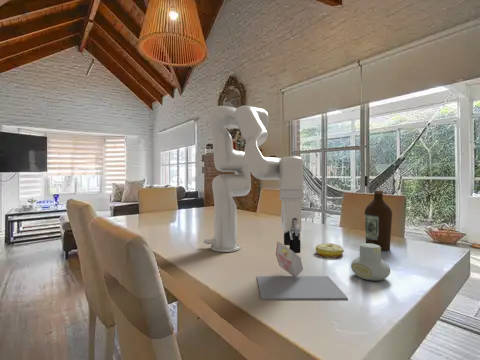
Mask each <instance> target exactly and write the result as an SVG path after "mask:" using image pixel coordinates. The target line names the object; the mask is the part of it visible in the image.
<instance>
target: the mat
mask: <svg viewBox="0 0 480 360" xmlns="http://www.w3.org/2000/svg"><path fill="white" fill-rule="evenodd" d="M256 280H257V285H258V290H259V295H260V300H263V301H264V300H265V301H268V300H269V301H270V300H271V301H272V300H275V301H276V300H286V301H287V300H296V301H297V300H298V301H299V300H301V301H302V300H308V301H309V300H315V301H316V300H318V301H319V300H327V301H329V300H332V301H333V300H337V301H340V300H348V299H349V297H348V296H347V295H346V294H345V293H344V292H343V291H342V290H341V289H340V288H339V286H337V284H336V283H335V282H334V281H333V280H332V279H331V278H330V276H329V275H297V276H296V277H294V276H292V275H257V276H256Z"/></svg>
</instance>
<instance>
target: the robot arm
mask: <svg viewBox="0 0 480 360" xmlns="http://www.w3.org/2000/svg"><path fill="white" fill-rule="evenodd" d="M269 122H270V117H269V113H268V111H266V110H265V109H264V108H262V107H256V106H252V105H240V106H238V107H233V106H227V105H218V106H214V108H212V110H211V112H210V114H209V121H208V123H209V130H210V133H211V138H212V148H213V163H214V164H213V165H214V167H215V169H216V170H217V171H219V172H228V173H229V172H233V173H234V174H231V173H230V174H228V173H227V174H219V175H217V176H215V177H214V178H213V179H212V184H211V188H212V195H213V203H214V208H213V209H214V213H213V214H214V220H213V221H214V224H213V225H214V230H213V231H214V233H213V234H214V236H213V237H211V238H204V239H203V244H206V245H210V250H211V251H214V252H218V253H231V252H236V251H239V250H240V249H241V245H240V244H239V243H237V237H238V234H237V233H238V232H237V231H238V230H237V228H238V227H237V226H238V221H237V220H238V219H237V215H238V210H237V208H238V207H237V204H236V202H235V200H234V197H243V196H247V195H249V193H250V191H251V189H252V178H251V174H252V176H253V177H254V178H255V179H257V180H263V181H265V180H268V181H269V180H273V181H276V180H277V181H279V185H278V186H279V201H281V206H280V207H281V209H280V210H281V211H280V212H281V213H280V228H281V229H282V230H283V245H284V246H289V249H290V250H292V251H293V252H295V254H300V253H301V231H302V205H301V201H304V160H303V158H302V157H300V156H295V155H294V156H293V155H292V156H283V157H273V156H272V157H271V156H268V157H267V156H263V155H262V152H261V151H260V149H259V147H260V146H261V145H264V143H265V142H266V141H267V139H268V137H269V135H268V131H267V129H266V128H267V127H268V125H269ZM227 128H230V129H237V130H239V132H240V134H241V135H242V137H243V139H244V140H245V145H244V150H237V149H234V142H233V137H232V135H231V134H230V132H229V130H228V129H227Z"/></svg>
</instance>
